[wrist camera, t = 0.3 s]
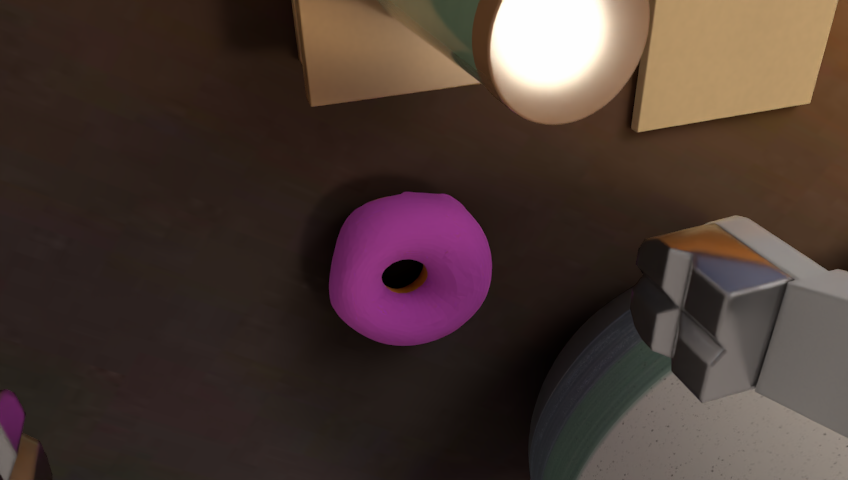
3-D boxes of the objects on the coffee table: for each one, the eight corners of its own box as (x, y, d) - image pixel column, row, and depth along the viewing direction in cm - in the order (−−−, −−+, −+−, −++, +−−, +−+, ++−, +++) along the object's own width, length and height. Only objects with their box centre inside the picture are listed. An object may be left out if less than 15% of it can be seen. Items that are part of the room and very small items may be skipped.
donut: (340, 171, 39) (359, 205, 36) (494, 188, 43) (526, 220, 40) (309, 318, 44) (323, 362, 40) (452, 321, 48) (477, 362, 44)
